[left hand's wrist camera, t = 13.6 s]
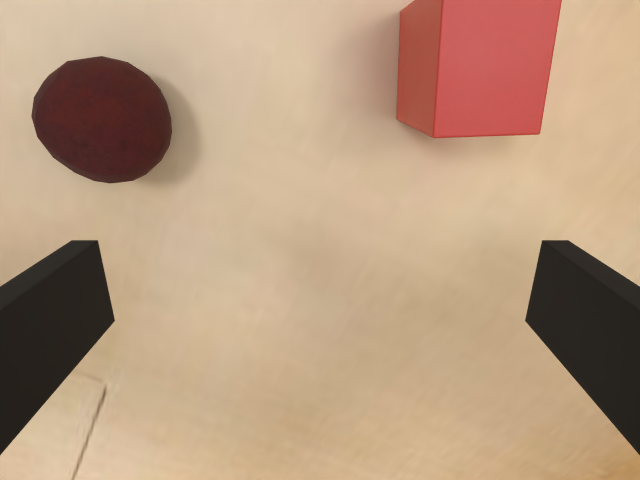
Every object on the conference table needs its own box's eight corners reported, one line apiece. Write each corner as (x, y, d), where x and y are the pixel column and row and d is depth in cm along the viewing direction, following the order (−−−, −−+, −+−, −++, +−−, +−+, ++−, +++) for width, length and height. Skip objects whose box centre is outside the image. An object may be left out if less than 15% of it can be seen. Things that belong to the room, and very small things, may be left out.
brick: (471, 116, 29) (540, 134, 20) (396, 119, 29) (432, 138, 20) (482, 7, 27) (566, -27, 18) (400, 10, 27) (443, -23, 18)
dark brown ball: (164, 186, 30) (124, 216, 24) (60, 136, 29) (-14, 153, 22) (201, 93, 28) (168, 98, 22) (90, 34, 27) (18, 20, 20)
